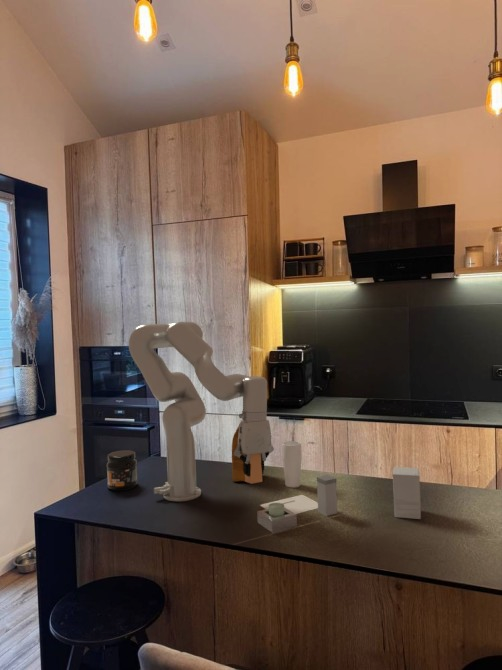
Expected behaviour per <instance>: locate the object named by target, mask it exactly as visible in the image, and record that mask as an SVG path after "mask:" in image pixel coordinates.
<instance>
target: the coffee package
mask: <svg viewBox="0 0 502 670" xmlns="http://www.w3.org/2000/svg"><path fill="white" fill-rule="evenodd" d="M239 427H240V423H239V424H238V426H237V428H236V430H235V432H234V434H233V437H232V441H231V468H232V481H233V482H235V483H236V482H245V474H244V472H243V461H242V460H241V459H240V458H239V457H237V456H235V455H234V451H235V449H236V448H237V446H238V433H239ZM240 454H242V455H243V452H241V451H240Z"/></svg>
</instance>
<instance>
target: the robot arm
mask: <svg viewBox="0 0 502 670" xmlns="http://www.w3.org/2000/svg"><path fill="white" fill-rule="evenodd" d="M162 348H163V349H164V348H174V349H175V350H176V351H177V352H178V353H179V354H180V355H181V356H182V357H183V358H184V359H185V360H186V361H188V362H189V364H190V365H191V366H192V367H193V368H194V373H195V375H196V378H197V379H198V381H199V382H200V384H201V385H202V386H203V388H205V389H206V391H208V392H209V393H210V394H211V395H212V396H213V397H214V398H216V399H217V400H219V401H222V402H224V401H225V402H227V401H231V400H233V399H238V398H241V397H242V411H241V413H239V414H238V416H239V419H242V420H240V422H239V424H240V427H239V433H238V446H237V448H236V449H235V451H234V455H235V456H237V457H239V458H240V459H241V460H242V461H243V472H244V474H245V475H247V476H250V470H251V464H250V463H249V460H250V455H252V454H259V453H261V468H262V475H263V474H264V471H265V462H266V460H267V458H268V457H269V456H270V454H271V453H272V452H273V451H274V450H275V449H274V446H273V444H272V430H271V424H270V420H269V419H268V418H267V417H268V416H267V415H268V413H267V411H268V410H267V409H268V405H267V404H268V381H267V379H266V378H265V377H263V376H258V375H257V376H255V375H252V376H249V375H244V374H240V373H233V374H229V375H225V374H224V373H223V372H221V371H220V369H218V367H216V365H215V364H214V362H213V360H212V356H213V352H214V351H213V348H212V347H211V346H210V344H208V343H207V342H206V341H205V340H204V339H203V330H202V328H201V326H200V325H199V324H197V323H195V322H193V321H177V322H174V323H148V324H141V325H138V326H137V327H135V328H134V329H133V330H132V332H131V333H130V335H129V339H128V351H129V353H130V356H131V358H132V360H133V362H134V364H135V365H136V366H137V368H138V369H139V371H140V372H141V374H142V377H143V379H144V380H145V382H146V384H147V385H148V388H149V389H150V391H151V393H152V395H153V397H154V398H155V399H156V400H157V401H158V402H160V403H167V402H171V401H174V402H173V403H169V405H167V406H166V407H165V409H164V411H163V413H162V425H163V429H164V434H165V446H166V448H165V449H166V469H167V471H166V473H167V481H165V482H164V484H163V485H162V486H157V487H154V488H153V493H154V495H156V494H159V495H163V498H164V500H167V501H169V502H187V501H191V500H194V499H197V498H199V497H200V496H201V495H202V489H201V488H200V487H197V471H196V469H197V468H196V467H197V466H196V445H195V444H196V442H195V437H194V433H193V430H192V428H191V427H194V426H196V425H198V424H200V423H202V422H203V421H204V419H205V417H206V413H207V410H206V406H205V403H204V401H203V400H202V398H201V396H200V394H199V392H198V390H197V388H196V386H195V385H194V384H193V382H192V380H191V378H190V377H189V376H187V375H186V373H183V372H181V371H174V372H171V371H170V370H169V368H168V366H167V364H166V363H165V361H164V360H163V358H162V357H161V356H160V354H158V353H157V352H156V351H155V350H154V349H162ZM240 451H241V452H243V455H242V454H240Z"/></svg>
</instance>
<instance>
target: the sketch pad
mask: <svg viewBox="0 0 502 670" xmlns="http://www.w3.org/2000/svg"><path fill="white" fill-rule="evenodd" d="M272 503H282V504H284V507H285V508H287V509H288V510H290V511H292V512H293V513H295V514H297V515H298V514H302V513H307V512H310V511H314V510H318V501H316V500H313V499H312V498H310V497H307V496H305V495H303V494H299V495H296V496H291V497H286V498H284V499H279V500H275V501H270V502H265V503H262V504H259V506H260V507H262V508H263V509H268V508H269V504H272Z"/></svg>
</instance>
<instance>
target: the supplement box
mask: <svg viewBox="0 0 502 670" xmlns="http://www.w3.org/2000/svg"><path fill="white" fill-rule="evenodd" d="M420 479H421V477H420V471H419V468H417V467H402V466H401V467H400V466H394V467H393V470H392V489H393V491H392V492H393V508H394V510H393V513H394V518H402V519H413V520H414V519H415V520H421V518H422V513H421V512H422V511H421V510H422V506H421V505H422V503H421V485H420V484H421V483H420V482H421V480H420Z"/></svg>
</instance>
